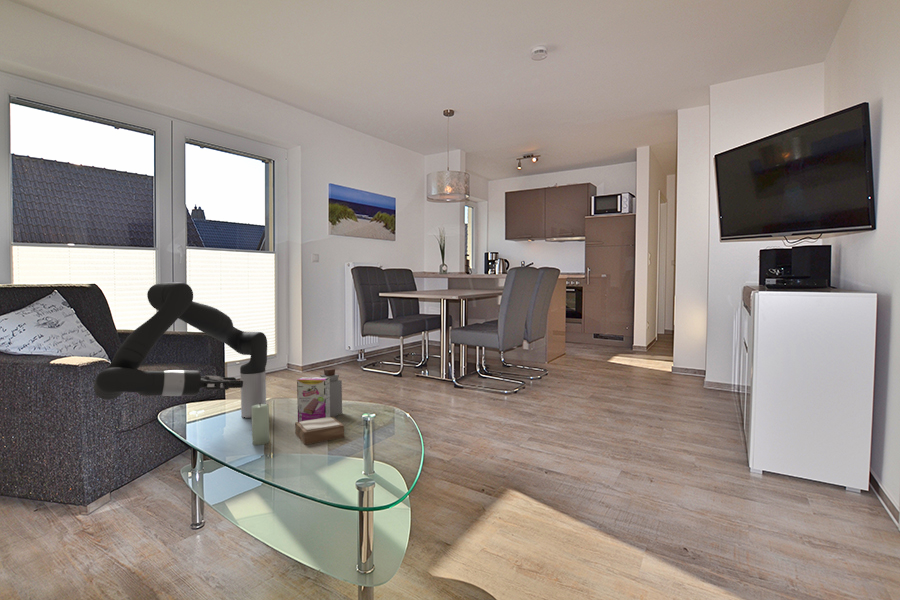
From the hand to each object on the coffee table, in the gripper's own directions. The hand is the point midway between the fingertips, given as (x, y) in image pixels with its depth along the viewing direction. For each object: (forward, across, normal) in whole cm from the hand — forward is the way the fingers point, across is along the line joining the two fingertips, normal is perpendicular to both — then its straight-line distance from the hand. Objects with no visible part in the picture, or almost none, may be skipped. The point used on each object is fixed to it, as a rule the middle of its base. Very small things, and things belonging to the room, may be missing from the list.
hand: (238, 382), depth 144 cm
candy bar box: (+32, +12, +16) cm, 38 cm away
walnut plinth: (+26, -5, +18) cm, 32 cm away
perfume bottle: (+40, +17, +15) cm, 46 cm away
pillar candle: (+9, +1, +20) cm, 22 cm away
